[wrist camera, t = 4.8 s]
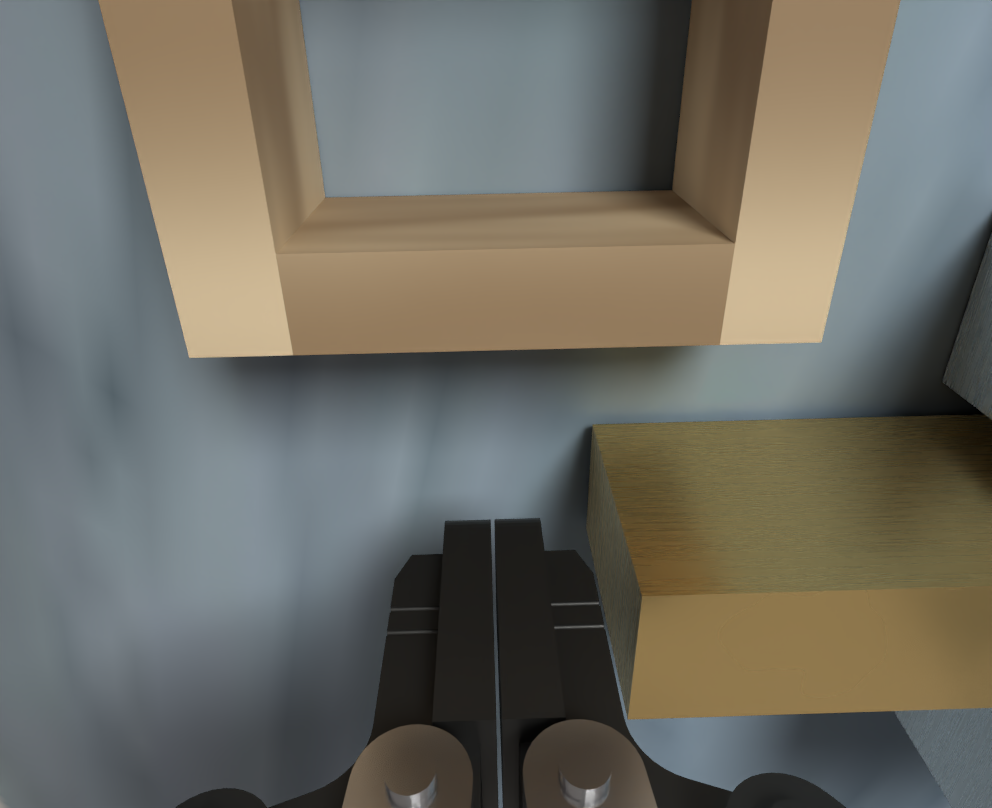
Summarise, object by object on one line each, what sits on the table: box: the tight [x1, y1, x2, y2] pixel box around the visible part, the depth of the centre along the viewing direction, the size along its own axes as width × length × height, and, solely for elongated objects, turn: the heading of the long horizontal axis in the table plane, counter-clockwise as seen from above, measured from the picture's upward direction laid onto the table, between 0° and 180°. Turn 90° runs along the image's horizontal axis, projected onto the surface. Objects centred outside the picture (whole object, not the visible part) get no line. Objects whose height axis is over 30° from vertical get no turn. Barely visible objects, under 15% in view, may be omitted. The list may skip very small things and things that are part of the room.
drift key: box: [586, 414, 992, 719], centre depth 11 cm, size 2×9×4 cm, turn 91°
